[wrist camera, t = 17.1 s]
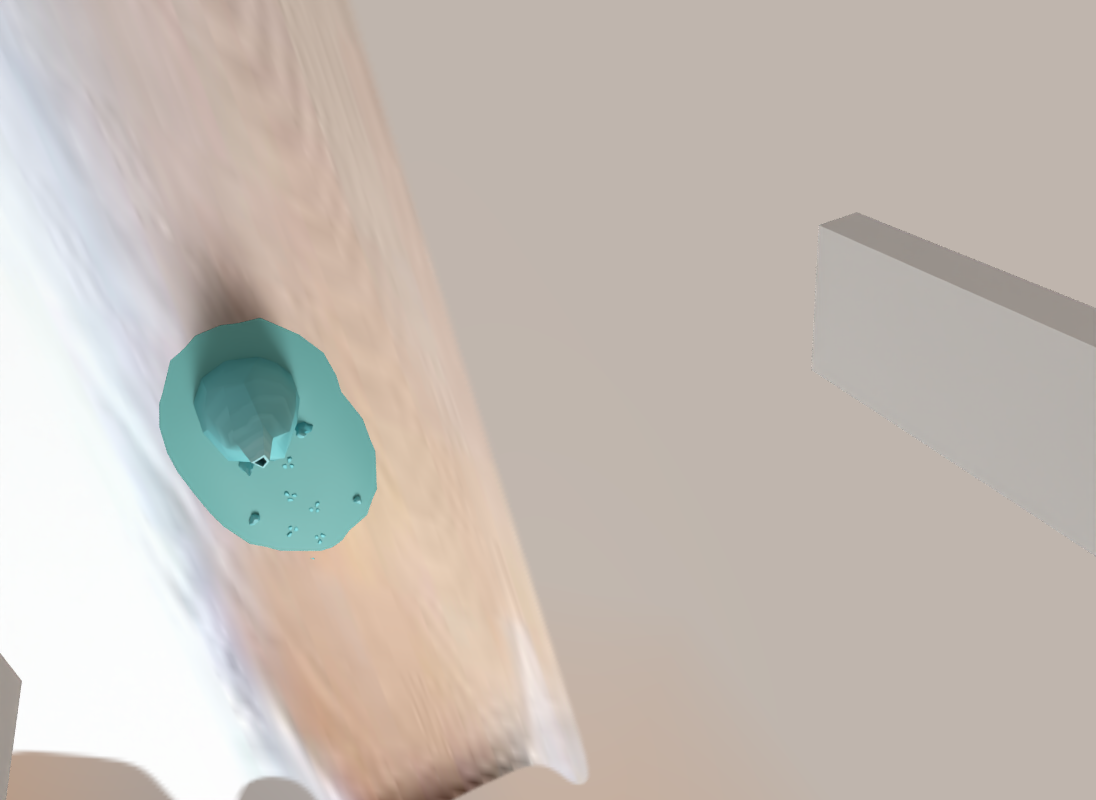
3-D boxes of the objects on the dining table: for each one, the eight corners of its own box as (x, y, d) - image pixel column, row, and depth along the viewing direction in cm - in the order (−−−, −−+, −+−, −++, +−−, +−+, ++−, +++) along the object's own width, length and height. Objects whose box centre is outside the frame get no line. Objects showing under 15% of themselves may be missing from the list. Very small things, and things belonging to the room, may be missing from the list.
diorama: (253, 598, 55) (271, 694, 48) (84, 355, 43) (76, 436, 36) (419, 516, 57) (459, 596, 50) (302, 265, 46) (334, 326, 39)
